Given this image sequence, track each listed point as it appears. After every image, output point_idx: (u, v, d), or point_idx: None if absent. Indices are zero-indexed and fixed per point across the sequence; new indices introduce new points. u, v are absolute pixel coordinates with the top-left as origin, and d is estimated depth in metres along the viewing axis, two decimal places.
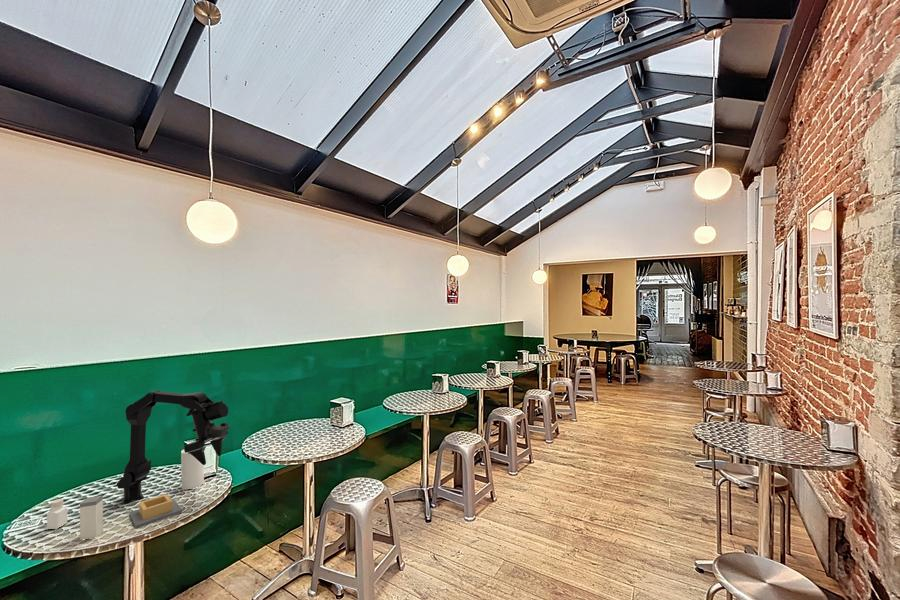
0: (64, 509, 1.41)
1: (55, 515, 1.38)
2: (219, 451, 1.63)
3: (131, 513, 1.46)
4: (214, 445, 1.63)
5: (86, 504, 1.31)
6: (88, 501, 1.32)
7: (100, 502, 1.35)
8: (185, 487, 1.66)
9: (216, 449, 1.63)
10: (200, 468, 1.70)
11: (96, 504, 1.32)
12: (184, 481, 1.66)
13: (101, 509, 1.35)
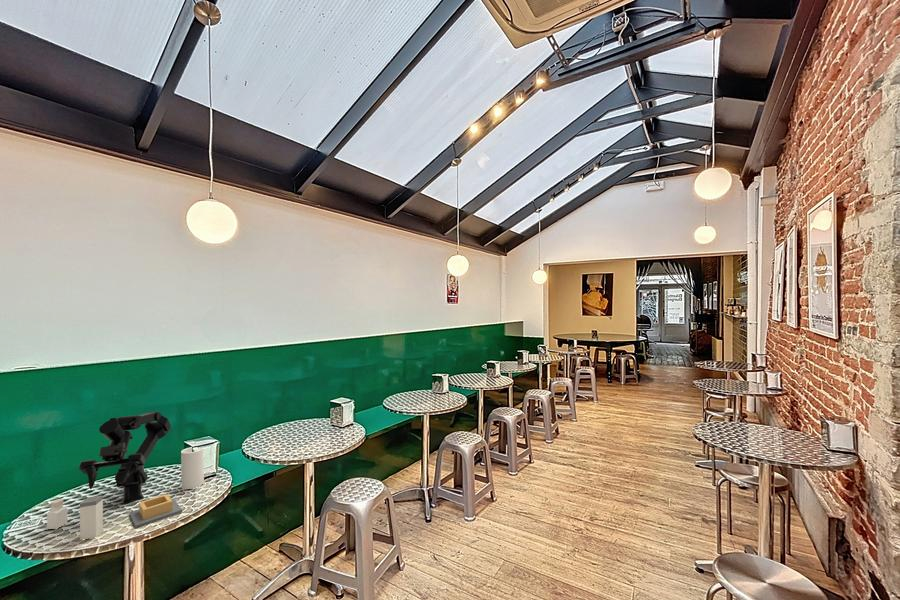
0: (64, 509, 1.41)
1: (55, 515, 1.38)
2: (122, 478, 1.44)
3: (131, 513, 1.46)
4: None
5: (86, 504, 1.31)
6: (88, 501, 1.32)
7: (100, 502, 1.35)
8: (185, 487, 1.66)
9: None
10: (200, 468, 1.70)
11: (96, 504, 1.32)
12: (184, 481, 1.66)
13: (101, 509, 1.35)
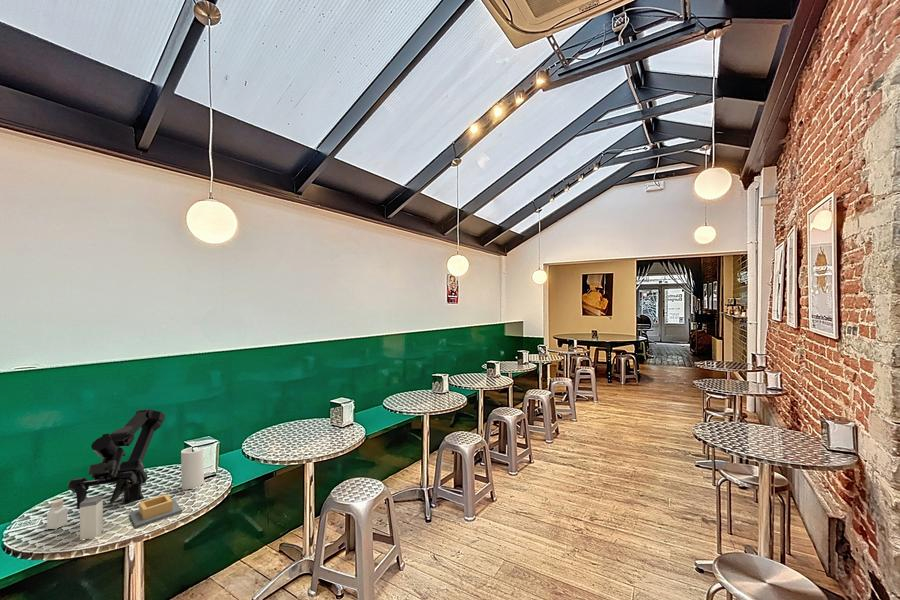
0: (64, 509, 1.41)
1: (55, 515, 1.38)
2: None
3: (131, 513, 1.46)
4: None
5: (86, 504, 1.31)
6: (88, 501, 1.32)
7: (100, 502, 1.35)
8: (185, 487, 1.66)
9: None
10: (200, 468, 1.70)
11: (96, 504, 1.32)
12: (184, 481, 1.66)
13: (101, 509, 1.35)
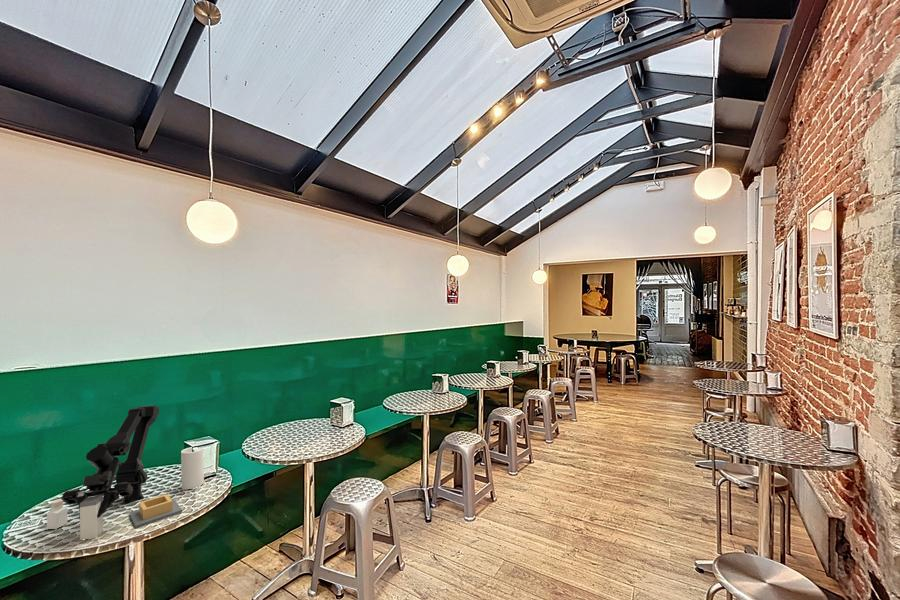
0: (64, 509, 1.41)
1: (55, 515, 1.38)
2: None
3: (131, 513, 1.46)
4: None
5: (86, 504, 1.31)
6: (88, 501, 1.32)
7: (100, 502, 1.35)
8: (185, 487, 1.66)
9: None
10: (200, 468, 1.70)
11: (96, 504, 1.32)
12: (184, 481, 1.66)
13: None
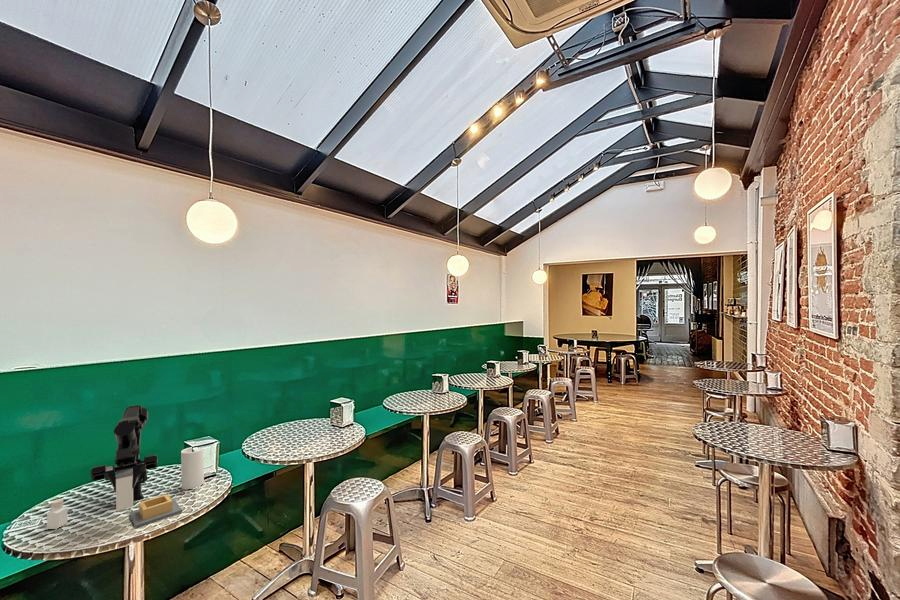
0: (64, 509, 1.41)
1: (55, 515, 1.38)
2: None
3: (131, 513, 1.46)
4: None
5: (122, 476, 1.37)
6: (123, 473, 1.38)
7: (132, 474, 1.41)
8: (185, 487, 1.66)
9: None
10: (200, 468, 1.70)
11: (132, 475, 1.39)
12: (184, 481, 1.66)
13: (132, 481, 1.41)
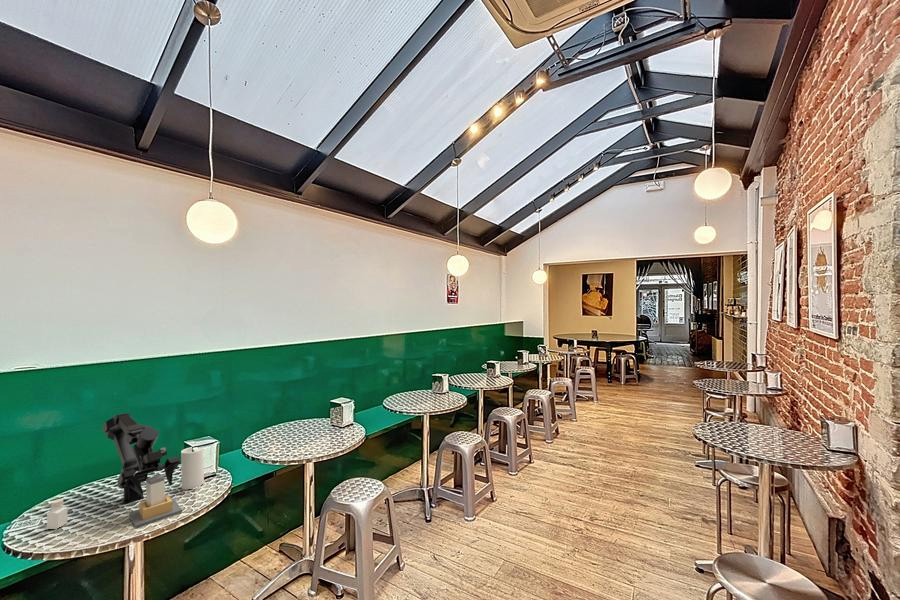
0: (64, 509, 1.41)
1: (55, 515, 1.38)
2: (169, 480, 1.51)
3: (131, 513, 1.46)
4: (166, 475, 1.53)
5: (156, 481, 1.46)
6: (156, 478, 1.46)
7: None
8: (185, 487, 1.66)
9: (168, 479, 1.52)
10: (200, 468, 1.70)
11: (164, 480, 1.48)
12: (184, 481, 1.66)
13: None
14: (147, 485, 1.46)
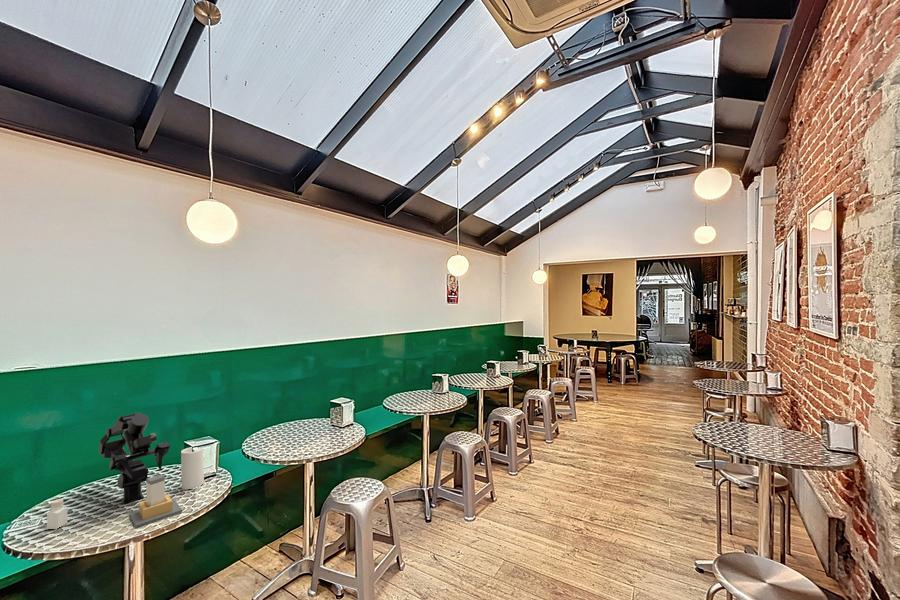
0: (64, 509, 1.41)
1: (55, 515, 1.38)
2: (159, 464, 1.56)
3: (131, 513, 1.46)
4: (156, 460, 1.58)
5: (156, 481, 1.46)
6: (156, 479, 1.46)
7: None
8: (185, 487, 1.66)
9: (158, 463, 1.57)
10: (200, 468, 1.70)
11: (164, 480, 1.48)
12: (184, 481, 1.66)
13: None
14: (147, 485, 1.46)
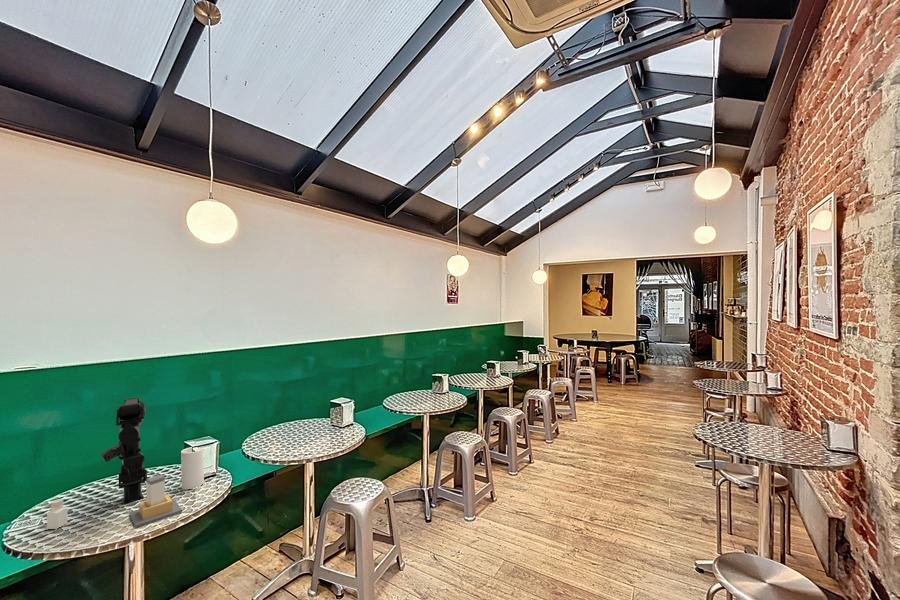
0: (64, 509, 1.41)
1: (55, 515, 1.38)
2: None
3: (131, 513, 1.46)
4: None
5: (156, 481, 1.46)
6: (156, 479, 1.46)
7: None
8: (185, 487, 1.66)
9: None
10: (200, 468, 1.70)
11: (164, 480, 1.48)
12: (184, 481, 1.66)
13: None
14: (147, 485, 1.46)
